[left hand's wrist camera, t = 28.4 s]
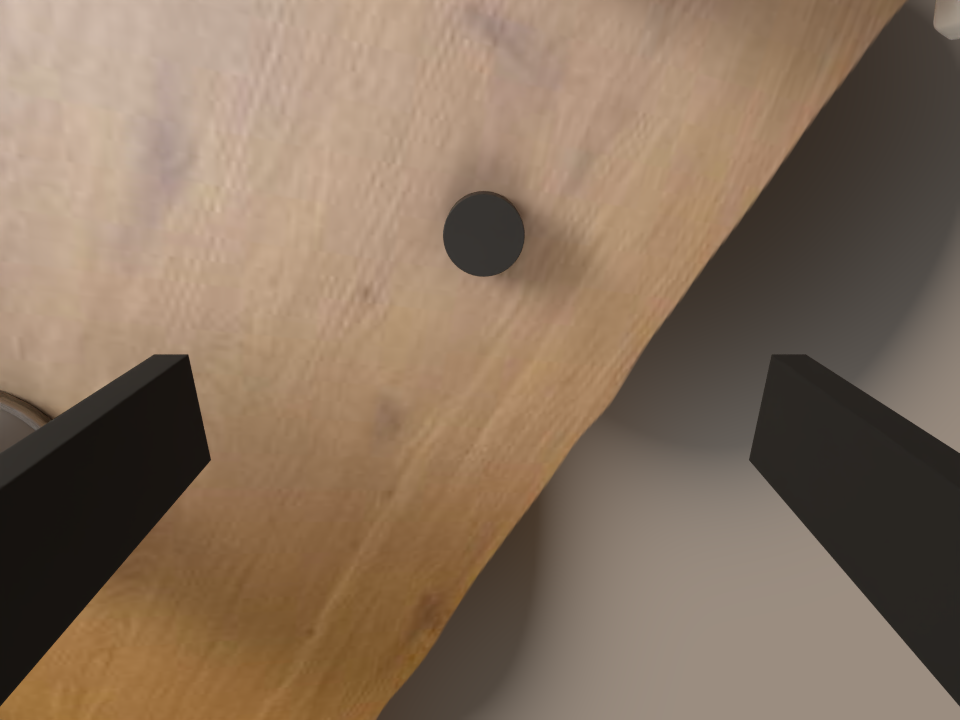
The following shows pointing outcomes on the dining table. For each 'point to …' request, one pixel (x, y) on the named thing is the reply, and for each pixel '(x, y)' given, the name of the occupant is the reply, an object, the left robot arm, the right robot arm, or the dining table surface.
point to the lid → (483, 234)
